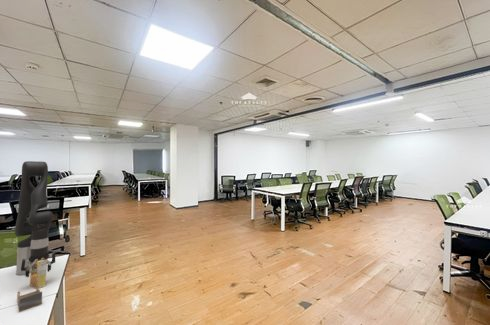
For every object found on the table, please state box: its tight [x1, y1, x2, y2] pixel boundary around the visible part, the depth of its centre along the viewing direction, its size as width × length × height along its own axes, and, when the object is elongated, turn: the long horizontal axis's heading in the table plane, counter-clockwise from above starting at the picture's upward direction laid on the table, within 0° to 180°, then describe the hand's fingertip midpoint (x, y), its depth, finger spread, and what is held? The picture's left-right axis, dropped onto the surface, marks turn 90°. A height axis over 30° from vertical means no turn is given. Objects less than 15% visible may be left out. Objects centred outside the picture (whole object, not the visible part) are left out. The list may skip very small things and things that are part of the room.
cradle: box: [16, 286, 43, 313], centre depth 108 cm, size 15×8×6 cm, turn 50°
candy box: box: [29, 258, 48, 289], centre depth 122 cm, size 9×4×15 cm, turn 66°
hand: (38, 273), depth 122 cm, fingers open, 8 cm apart
